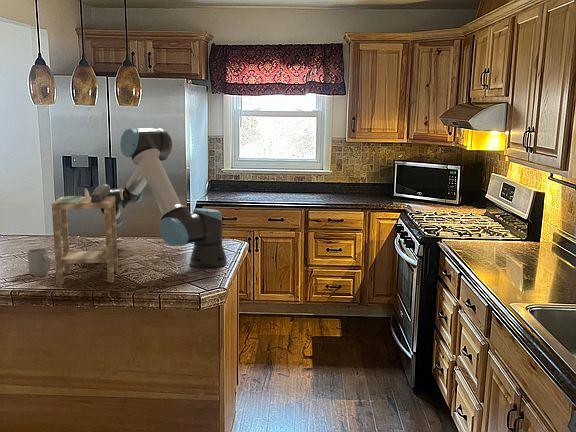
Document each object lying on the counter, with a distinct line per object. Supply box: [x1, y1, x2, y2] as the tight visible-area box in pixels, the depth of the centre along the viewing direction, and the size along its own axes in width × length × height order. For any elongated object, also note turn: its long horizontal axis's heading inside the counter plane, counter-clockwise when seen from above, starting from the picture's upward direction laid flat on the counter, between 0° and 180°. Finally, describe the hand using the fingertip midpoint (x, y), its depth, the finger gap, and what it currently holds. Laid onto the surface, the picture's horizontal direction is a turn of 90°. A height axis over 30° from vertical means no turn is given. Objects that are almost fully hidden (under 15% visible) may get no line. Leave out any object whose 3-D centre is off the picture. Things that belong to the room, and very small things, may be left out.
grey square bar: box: [90, 184, 110, 203], centre depth 222 cm, size 3×26×3 cm, turn 10°
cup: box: [27, 248, 51, 276], centre depth 225 cm, size 7×10×9 cm
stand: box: [51, 195, 119, 285], centre depth 218 cm, size 20×16×30 cm
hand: (103, 191), depth 232 cm, fingers open, 13 cm apart
